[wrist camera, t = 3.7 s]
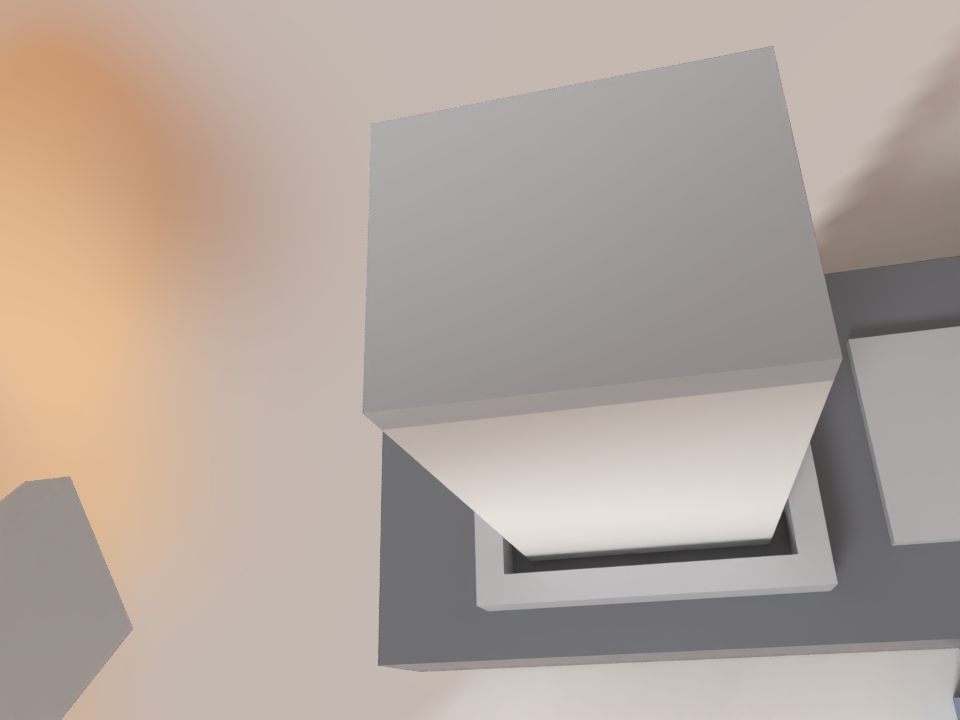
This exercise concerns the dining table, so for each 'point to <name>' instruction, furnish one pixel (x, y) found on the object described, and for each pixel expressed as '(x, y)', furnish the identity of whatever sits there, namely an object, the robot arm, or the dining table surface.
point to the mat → (957, 706)
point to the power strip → (730, 570)
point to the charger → (602, 308)
